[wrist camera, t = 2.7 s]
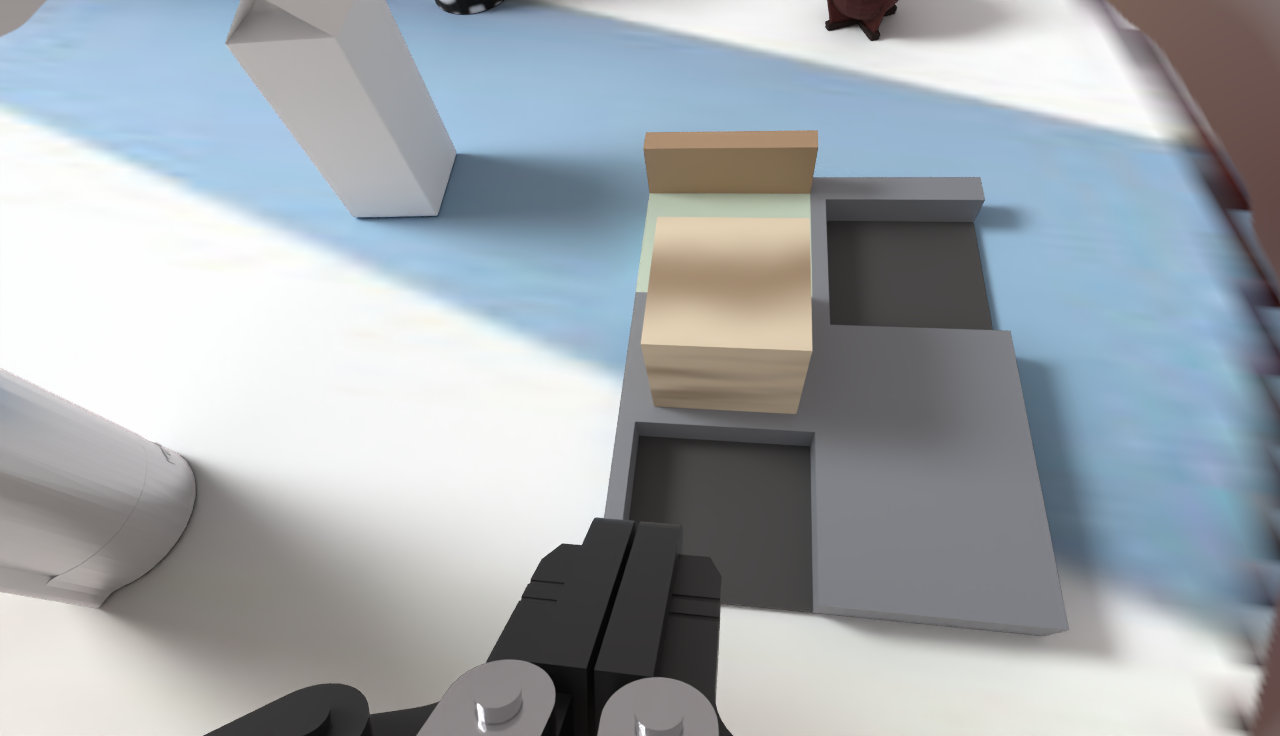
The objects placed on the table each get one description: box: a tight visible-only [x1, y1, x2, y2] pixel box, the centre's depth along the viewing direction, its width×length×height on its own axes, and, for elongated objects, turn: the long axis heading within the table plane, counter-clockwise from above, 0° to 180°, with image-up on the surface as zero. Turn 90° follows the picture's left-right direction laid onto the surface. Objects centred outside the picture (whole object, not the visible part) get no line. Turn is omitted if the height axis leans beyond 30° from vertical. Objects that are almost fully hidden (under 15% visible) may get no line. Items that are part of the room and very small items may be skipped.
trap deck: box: [604, 130, 1069, 636], centre depth 36 cm, size 28×22×6 cm
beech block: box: [641, 217, 812, 414], centre depth 34 cm, size 8×8×7 cm
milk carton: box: [225, 0, 456, 217], centre depth 43 cm, size 7×7×19 cm
